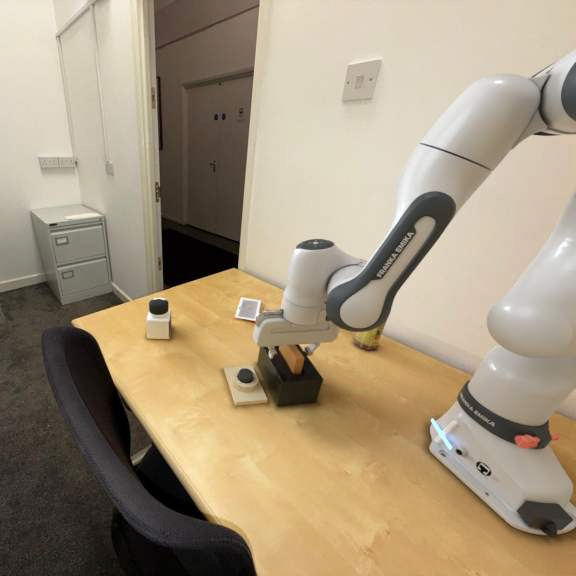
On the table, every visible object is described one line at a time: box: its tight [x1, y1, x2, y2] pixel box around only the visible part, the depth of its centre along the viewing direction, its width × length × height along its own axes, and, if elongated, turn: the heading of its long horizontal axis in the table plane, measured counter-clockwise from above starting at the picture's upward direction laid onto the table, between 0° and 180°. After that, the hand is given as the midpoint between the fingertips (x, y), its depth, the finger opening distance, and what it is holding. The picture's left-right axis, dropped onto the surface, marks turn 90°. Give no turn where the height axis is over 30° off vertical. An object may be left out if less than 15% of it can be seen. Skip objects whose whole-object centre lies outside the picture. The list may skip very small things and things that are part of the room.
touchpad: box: [234, 296, 262, 322], centre depth 110 cm, size 8×15×2 cm, turn 163°
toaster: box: [256, 344, 324, 408], centre depth 77 cm, size 15×10×8 cm, turn 8°
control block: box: [223, 365, 268, 406], centre depth 77 cm, size 12×8×3 cm, turn 8°
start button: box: [238, 368, 253, 384], centre depth 76 cm, size 4×4×2 cm
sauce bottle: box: [354, 317, 389, 351], centre depth 89 cm, size 7×6×20 cm
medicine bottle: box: [145, 297, 172, 340], centre depth 94 cm, size 7×7×12 cm
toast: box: [278, 345, 304, 375], centre depth 76 cm, size 9×2×10 cm, turn 8°
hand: (290, 355), depth 75 cm, fingers open, 8 cm apart
